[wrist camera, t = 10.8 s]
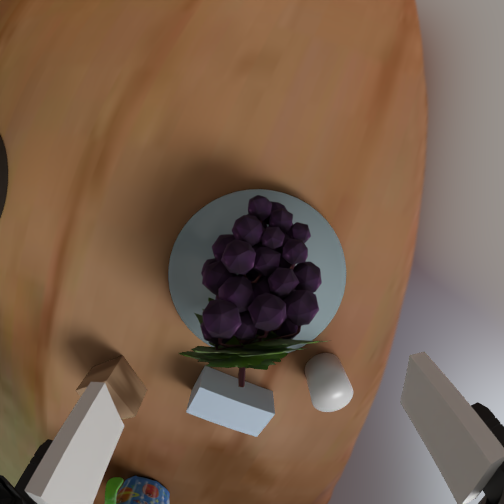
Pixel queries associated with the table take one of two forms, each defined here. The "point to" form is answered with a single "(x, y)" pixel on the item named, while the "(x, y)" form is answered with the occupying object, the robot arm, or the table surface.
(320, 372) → the grey plastic peg
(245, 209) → the plate
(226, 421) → the dusty blue block
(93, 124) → the table surface
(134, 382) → the walnut block
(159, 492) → the snack cup
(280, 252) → the fruit
